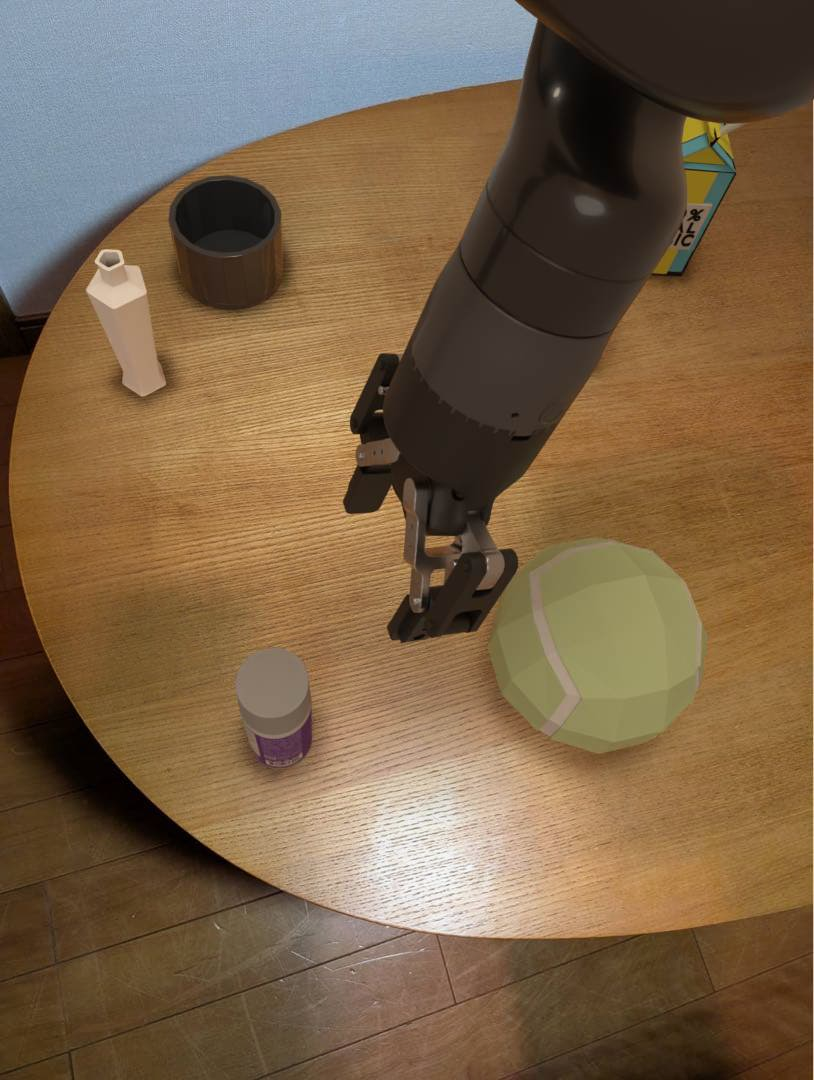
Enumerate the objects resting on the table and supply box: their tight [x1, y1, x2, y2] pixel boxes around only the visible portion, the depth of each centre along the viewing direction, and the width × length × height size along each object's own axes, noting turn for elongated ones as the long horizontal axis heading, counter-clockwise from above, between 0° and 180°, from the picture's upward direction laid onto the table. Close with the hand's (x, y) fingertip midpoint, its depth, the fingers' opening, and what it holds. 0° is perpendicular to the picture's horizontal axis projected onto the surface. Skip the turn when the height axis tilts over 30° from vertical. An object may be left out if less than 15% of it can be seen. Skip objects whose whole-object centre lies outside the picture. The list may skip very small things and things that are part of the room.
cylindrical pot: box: [167, 174, 284, 311], centre depth 82 cm, size 10×10×7 cm
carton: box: [651, 117, 748, 277], centre depth 84 cm, size 7×8×18 cm
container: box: [234, 647, 313, 770], centre depth 60 cm, size 5×5×15 cm
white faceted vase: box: [85, 248, 167, 398], centre depth 72 cm, size 5×4×15 cm
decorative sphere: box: [487, 536, 709, 755], centre depth 64 cm, size 15×15×15 cm
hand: (381, 569), depth 50 cm, fingers open, 8 cm apart
